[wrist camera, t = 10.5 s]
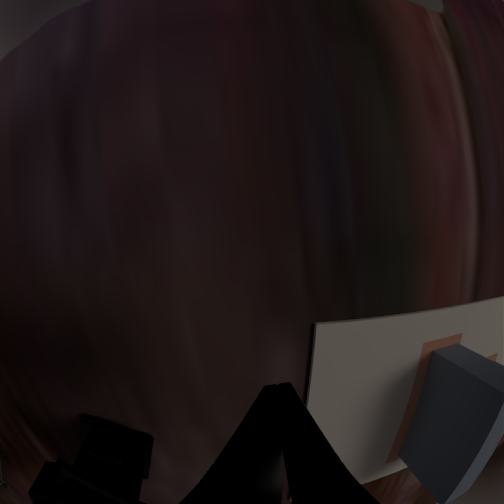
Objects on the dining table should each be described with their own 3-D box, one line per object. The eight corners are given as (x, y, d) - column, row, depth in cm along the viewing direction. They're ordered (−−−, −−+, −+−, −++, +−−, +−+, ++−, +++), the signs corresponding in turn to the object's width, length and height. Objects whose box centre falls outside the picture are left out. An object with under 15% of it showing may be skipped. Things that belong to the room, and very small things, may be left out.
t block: (397, 454, 24) (442, 506, 14) (432, 350, 22) (506, 395, 12) (472, 419, 26) (515, 452, 16) (503, 327, 24) (560, 351, 15)
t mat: (289, 498, 23) (290, 501, 22) (314, 322, 20) (316, 324, 20) (488, 421, 28) (489, 422, 27) (528, 289, 25) (530, 290, 25)
